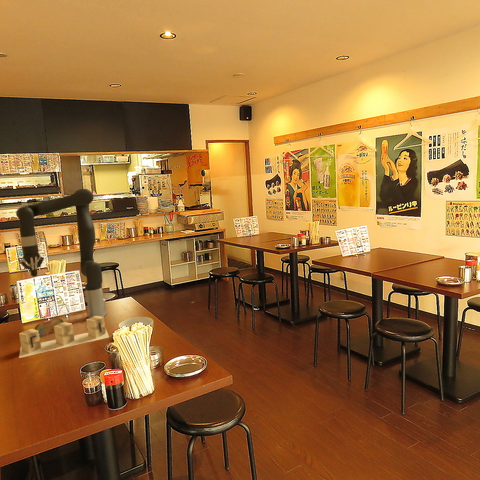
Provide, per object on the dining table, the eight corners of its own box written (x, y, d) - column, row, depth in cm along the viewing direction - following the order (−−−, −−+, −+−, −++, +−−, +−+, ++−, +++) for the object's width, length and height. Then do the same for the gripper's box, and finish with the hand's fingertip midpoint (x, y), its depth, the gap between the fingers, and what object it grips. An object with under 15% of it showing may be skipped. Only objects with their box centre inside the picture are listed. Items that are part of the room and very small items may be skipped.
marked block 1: (98, 332, 205) (96, 315, 204) (106, 333, 202) (104, 317, 200) (88, 336, 200) (86, 319, 199) (96, 338, 197) (94, 321, 195)
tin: (37, 341, 201) (35, 325, 200) (34, 340, 203) (32, 324, 202) (65, 331, 213) (63, 316, 212) (62, 330, 215) (60, 315, 214)
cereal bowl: (119, 345, 189) (117, 331, 187) (120, 332, 204) (118, 319, 203) (155, 339, 193) (153, 325, 192) (153, 327, 209) (152, 314, 208)
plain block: (67, 338, 199) (64, 321, 197) (74, 340, 195) (72, 323, 194) (56, 343, 194) (53, 326, 192) (63, 345, 190) (61, 327, 189)
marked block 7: (34, 346, 192) (31, 328, 191) (41, 348, 189) (38, 330, 187) (22, 351, 187) (19, 333, 186) (29, 353, 184) (26, 335, 182)
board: (105, 330, 209) (105, 328, 209) (109, 339, 197) (109, 337, 197) (21, 349, 192) (20, 347, 192) (19, 360, 180) (18, 357, 180)
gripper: (21, 247, 200) (26, 280, 203) (45, 242, 211) (50, 273, 214) (13, 246, 204) (18, 278, 207) (37, 242, 215) (42, 272, 218)
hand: (34, 276), depth 210 cm, fingers closed
